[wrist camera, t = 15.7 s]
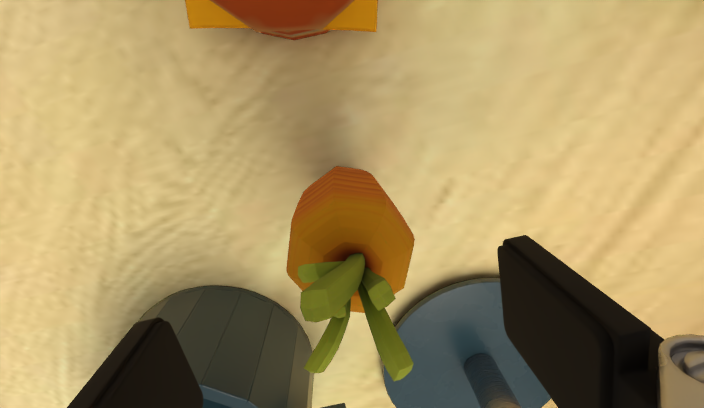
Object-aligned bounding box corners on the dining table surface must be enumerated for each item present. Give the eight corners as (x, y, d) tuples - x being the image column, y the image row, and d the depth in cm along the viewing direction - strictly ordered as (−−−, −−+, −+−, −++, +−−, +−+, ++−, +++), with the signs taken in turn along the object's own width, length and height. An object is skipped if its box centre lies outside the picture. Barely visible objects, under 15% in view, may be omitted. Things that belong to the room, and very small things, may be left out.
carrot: (388, 207, 24) (471, 396, 9) (316, 224, 24) (290, 437, 10) (372, 133, 22) (442, 230, 8) (294, 153, 22) (225, 282, 8)
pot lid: (364, 296, 26) (373, 357, 20) (563, 254, 25) (629, 303, 20) (398, 437, 31) (413, 518, 25) (565, 403, 30) (618, 477, 25)
